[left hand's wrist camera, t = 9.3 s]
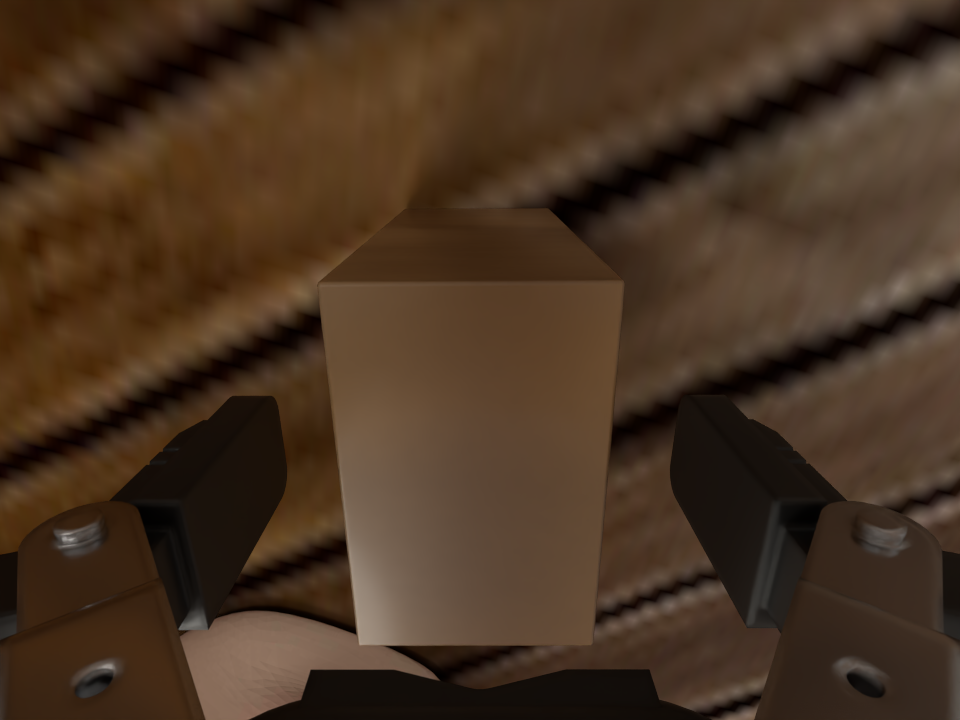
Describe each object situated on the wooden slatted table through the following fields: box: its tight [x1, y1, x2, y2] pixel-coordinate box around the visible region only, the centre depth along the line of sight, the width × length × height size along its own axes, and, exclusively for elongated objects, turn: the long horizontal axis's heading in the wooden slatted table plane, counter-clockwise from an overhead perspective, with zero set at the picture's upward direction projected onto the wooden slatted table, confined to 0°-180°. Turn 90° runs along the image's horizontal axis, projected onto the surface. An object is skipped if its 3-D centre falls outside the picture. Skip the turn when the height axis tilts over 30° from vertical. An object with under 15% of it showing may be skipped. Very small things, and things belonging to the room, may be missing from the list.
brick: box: [317, 208, 625, 646], centre depth 15 cm, size 5×7×10 cm, turn 0°
